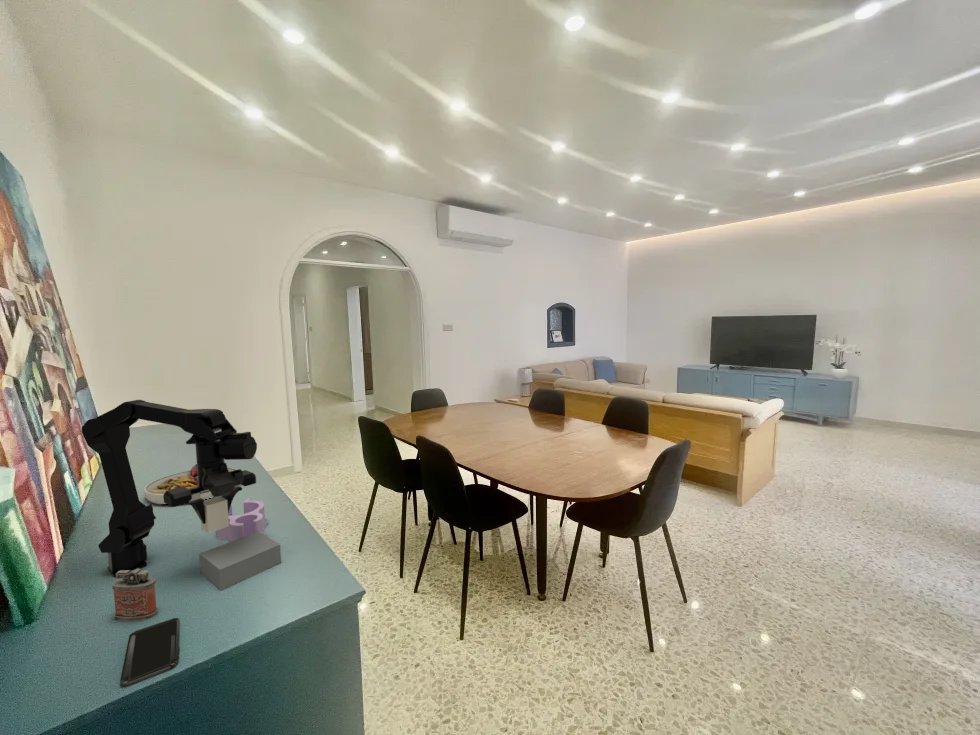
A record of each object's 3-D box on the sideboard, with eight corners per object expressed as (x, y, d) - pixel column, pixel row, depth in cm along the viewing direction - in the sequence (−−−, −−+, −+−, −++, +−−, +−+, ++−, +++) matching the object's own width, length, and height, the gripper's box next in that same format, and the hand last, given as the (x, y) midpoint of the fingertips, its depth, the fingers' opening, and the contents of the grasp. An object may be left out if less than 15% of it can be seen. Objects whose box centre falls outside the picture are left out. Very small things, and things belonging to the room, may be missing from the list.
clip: (274, 539, 117) (273, 516, 116) (223, 554, 109) (222, 530, 108) (259, 516, 132) (258, 496, 131) (213, 528, 124) (212, 506, 123)
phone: (119, 685, 67) (129, 632, 79) (119, 691, 67) (130, 637, 79) (178, 662, 71) (180, 615, 83) (179, 668, 72) (180, 621, 83)
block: (208, 533, 99) (206, 505, 98) (201, 528, 101) (199, 501, 101) (229, 526, 102) (227, 499, 102) (221, 521, 105) (219, 496, 105)
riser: (220, 590, 93) (219, 569, 93) (200, 572, 100) (199, 553, 100) (280, 562, 104) (280, 544, 104) (259, 548, 111) (258, 531, 111)
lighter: (162, 609, 86) (159, 565, 86) (149, 620, 83) (146, 574, 82) (123, 610, 86) (120, 566, 85) (109, 621, 83) (106, 575, 82)
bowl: (241, 497, 149) (240, 476, 148) (135, 516, 133) (134, 493, 132) (241, 473, 174) (240, 456, 173) (152, 487, 158) (151, 468, 157)
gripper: (177, 476, 88) (182, 544, 90) (264, 455, 104) (268, 513, 105) (160, 468, 95) (165, 531, 96) (244, 449, 110) (248, 504, 111)
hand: (214, 519), depth 102 cm, fingers closed on block, 4 cm apart
